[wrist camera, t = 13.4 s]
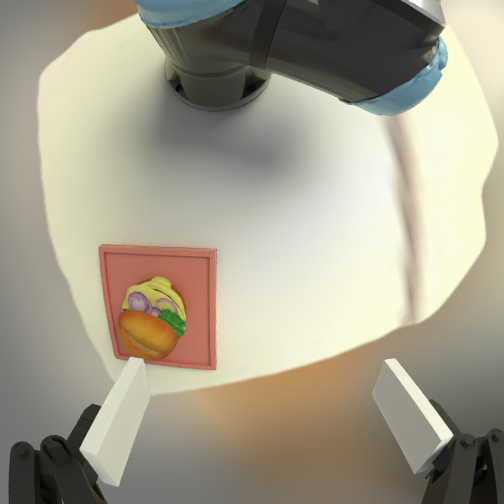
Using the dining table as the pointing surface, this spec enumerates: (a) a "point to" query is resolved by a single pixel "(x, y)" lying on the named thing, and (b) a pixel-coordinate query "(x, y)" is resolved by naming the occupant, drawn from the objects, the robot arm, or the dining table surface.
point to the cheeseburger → (152, 319)
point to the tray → (184, 280)
